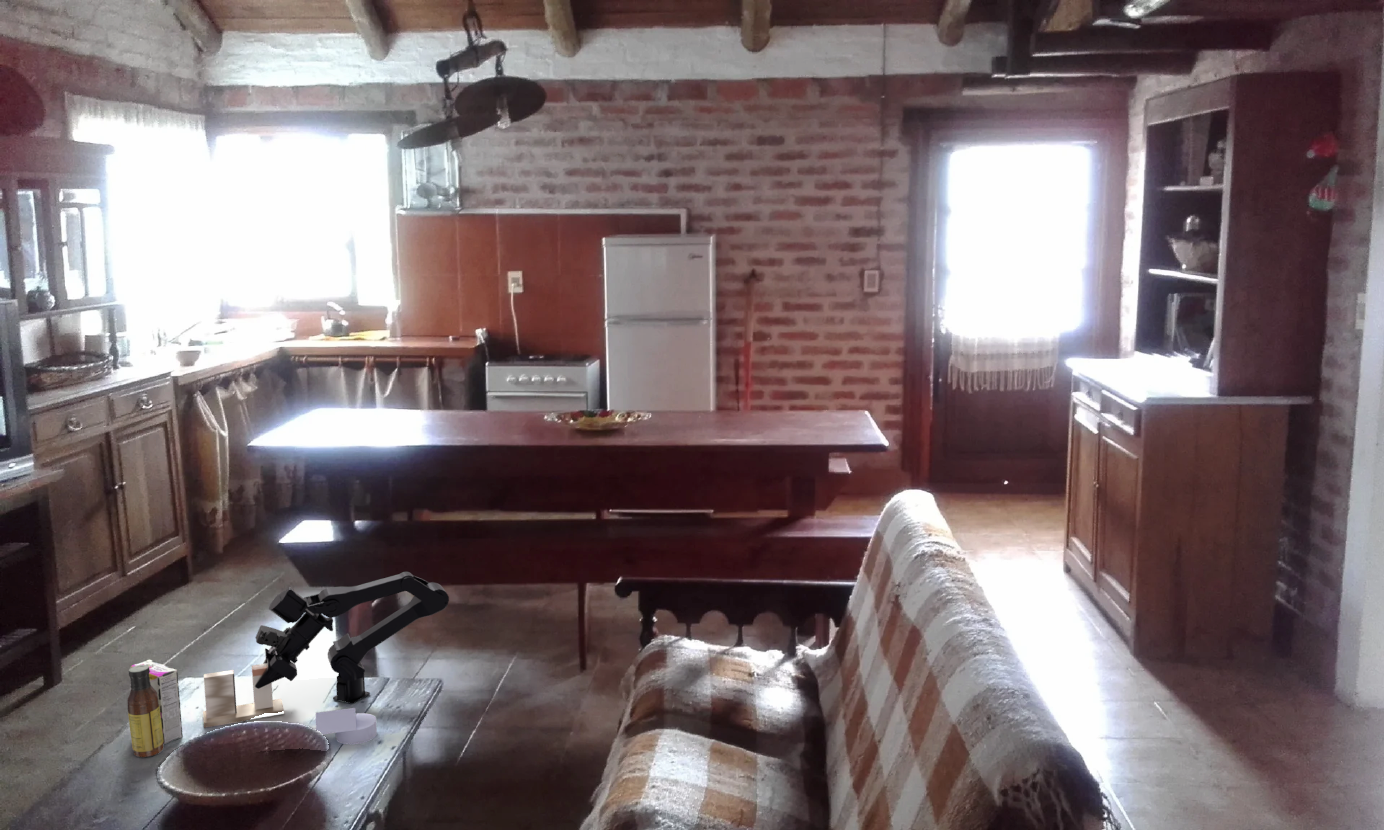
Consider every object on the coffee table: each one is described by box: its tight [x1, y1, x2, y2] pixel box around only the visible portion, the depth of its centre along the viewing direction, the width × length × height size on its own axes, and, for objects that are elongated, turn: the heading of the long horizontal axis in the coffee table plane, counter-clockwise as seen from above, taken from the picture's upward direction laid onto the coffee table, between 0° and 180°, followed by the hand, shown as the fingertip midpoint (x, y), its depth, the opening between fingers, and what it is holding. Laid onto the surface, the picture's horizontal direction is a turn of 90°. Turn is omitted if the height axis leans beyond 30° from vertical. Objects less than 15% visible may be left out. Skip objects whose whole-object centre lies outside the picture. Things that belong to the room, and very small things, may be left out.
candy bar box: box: [129, 659, 184, 745], centre depth 249 cm, size 11×5×16 cm, turn 58°
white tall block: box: [251, 663, 274, 710], centre depth 262 cm, size 4×3×10 cm
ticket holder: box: [202, 669, 285, 729], centre depth 260 cm, size 18×7×11 cm, turn 115°
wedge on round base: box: [315, 707, 378, 745], centre depth 250 cm, size 9×7×13 cm
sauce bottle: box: [127, 665, 164, 758], centre depth 240 cm, size 6×6×20 cm
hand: (256, 684), depth 261 cm, fingers closed on white tall block, 3 cm apart
